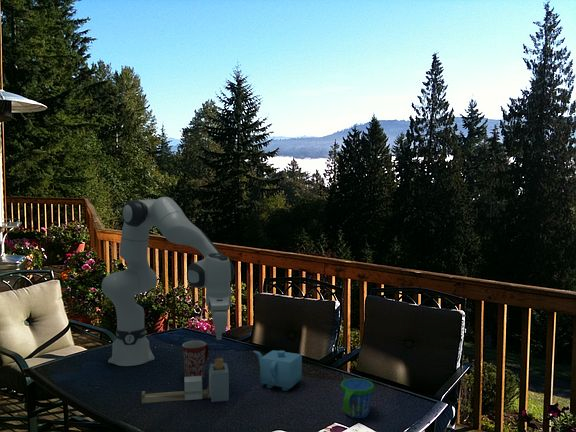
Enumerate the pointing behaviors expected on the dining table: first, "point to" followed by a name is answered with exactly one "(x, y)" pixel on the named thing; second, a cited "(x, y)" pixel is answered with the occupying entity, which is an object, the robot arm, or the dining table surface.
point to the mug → (195, 358)
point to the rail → (169, 396)
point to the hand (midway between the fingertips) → (218, 338)
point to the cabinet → (219, 383)
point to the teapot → (280, 369)
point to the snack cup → (357, 397)
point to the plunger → (219, 364)
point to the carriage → (193, 387)
